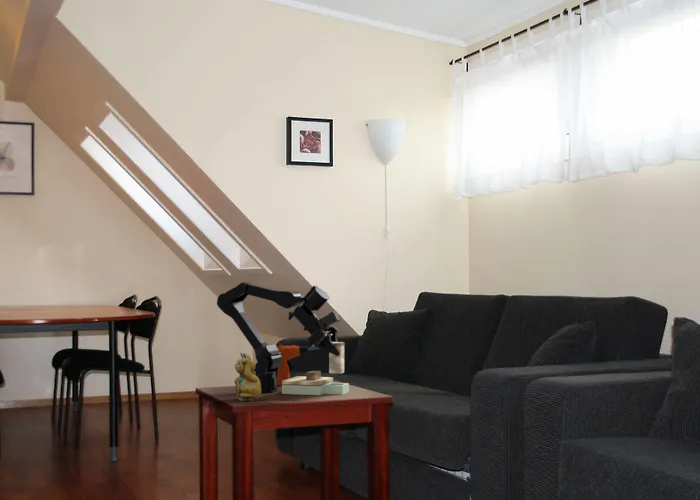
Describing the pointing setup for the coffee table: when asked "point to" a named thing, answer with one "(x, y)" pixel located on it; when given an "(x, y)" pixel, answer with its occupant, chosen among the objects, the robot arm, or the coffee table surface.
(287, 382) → the lid
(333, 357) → the cream upright cylinder
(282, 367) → the toy drill
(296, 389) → the pale green tray
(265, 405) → the coffee table surface
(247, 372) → the decorative figurine
